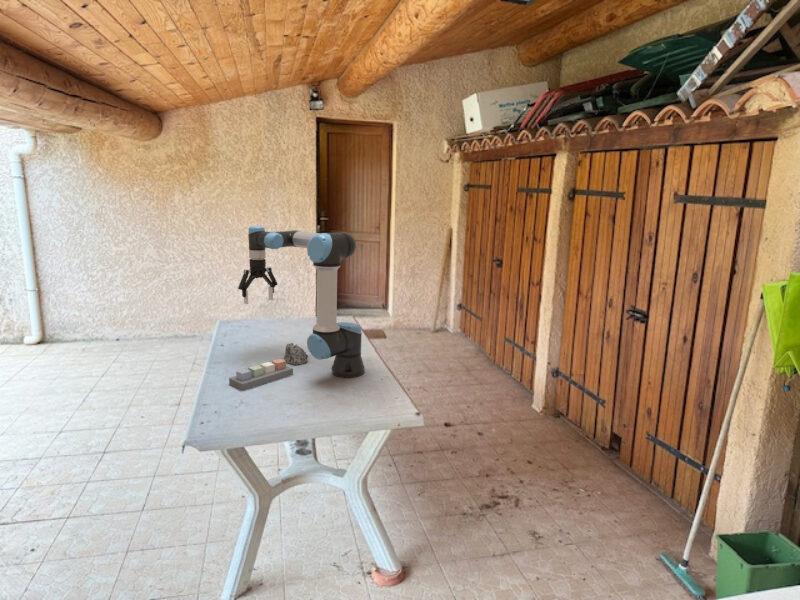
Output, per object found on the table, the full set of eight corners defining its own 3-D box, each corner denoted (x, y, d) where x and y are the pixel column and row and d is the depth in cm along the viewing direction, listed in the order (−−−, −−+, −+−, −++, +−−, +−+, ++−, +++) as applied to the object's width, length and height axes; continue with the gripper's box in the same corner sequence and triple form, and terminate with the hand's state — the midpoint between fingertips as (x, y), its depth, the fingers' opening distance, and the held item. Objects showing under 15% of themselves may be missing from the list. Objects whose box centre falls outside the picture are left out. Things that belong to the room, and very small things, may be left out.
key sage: (263, 376, 222) (263, 367, 221) (254, 379, 219) (254, 370, 218) (257, 373, 225) (257, 365, 224) (248, 376, 221) (248, 367, 221)
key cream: (274, 372, 227) (274, 364, 226) (266, 375, 223) (266, 366, 222) (268, 370, 229) (268, 361, 228) (260, 372, 226) (260, 364, 225)
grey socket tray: (293, 374, 231) (292, 368, 230) (242, 391, 212) (242, 384, 211) (279, 369, 237) (279, 363, 237) (229, 384, 218) (229, 377, 217)
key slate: (251, 380, 217) (251, 371, 217) (242, 382, 214) (242, 373, 213) (245, 377, 220) (245, 368, 219) (236, 380, 217) (236, 371, 216)
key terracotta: (285, 369, 231) (285, 361, 230) (277, 371, 228) (277, 363, 227) (279, 367, 234) (279, 358, 233) (271, 369, 230) (271, 361, 230)
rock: (276, 363, 249) (277, 352, 242) (287, 350, 256) (289, 338, 248) (299, 376, 248) (301, 365, 240) (310, 362, 254) (312, 351, 247)
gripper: (275, 255, 257) (276, 297, 262) (229, 259, 239) (231, 304, 244) (284, 257, 252) (284, 299, 257) (237, 261, 234) (239, 306, 239)
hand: (258, 301), depth 250 cm, fingers open, 13 cm apart
